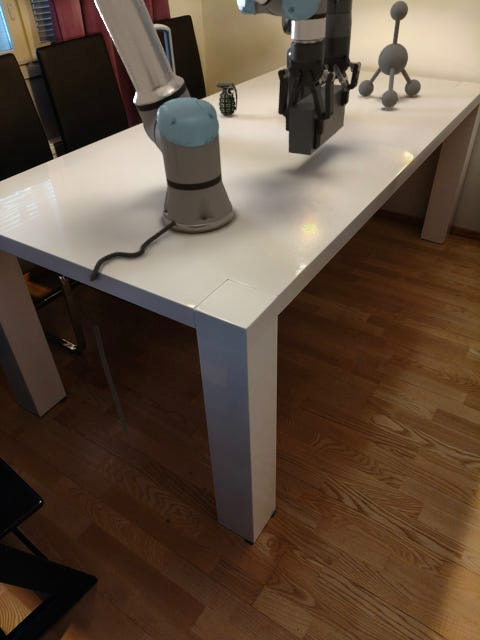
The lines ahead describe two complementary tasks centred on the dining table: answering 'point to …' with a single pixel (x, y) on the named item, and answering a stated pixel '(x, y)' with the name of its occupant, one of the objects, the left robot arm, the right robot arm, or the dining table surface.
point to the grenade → (227, 99)
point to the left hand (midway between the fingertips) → (304, 145)
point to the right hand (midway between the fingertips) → (331, 104)
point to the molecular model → (392, 63)
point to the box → (313, 122)
